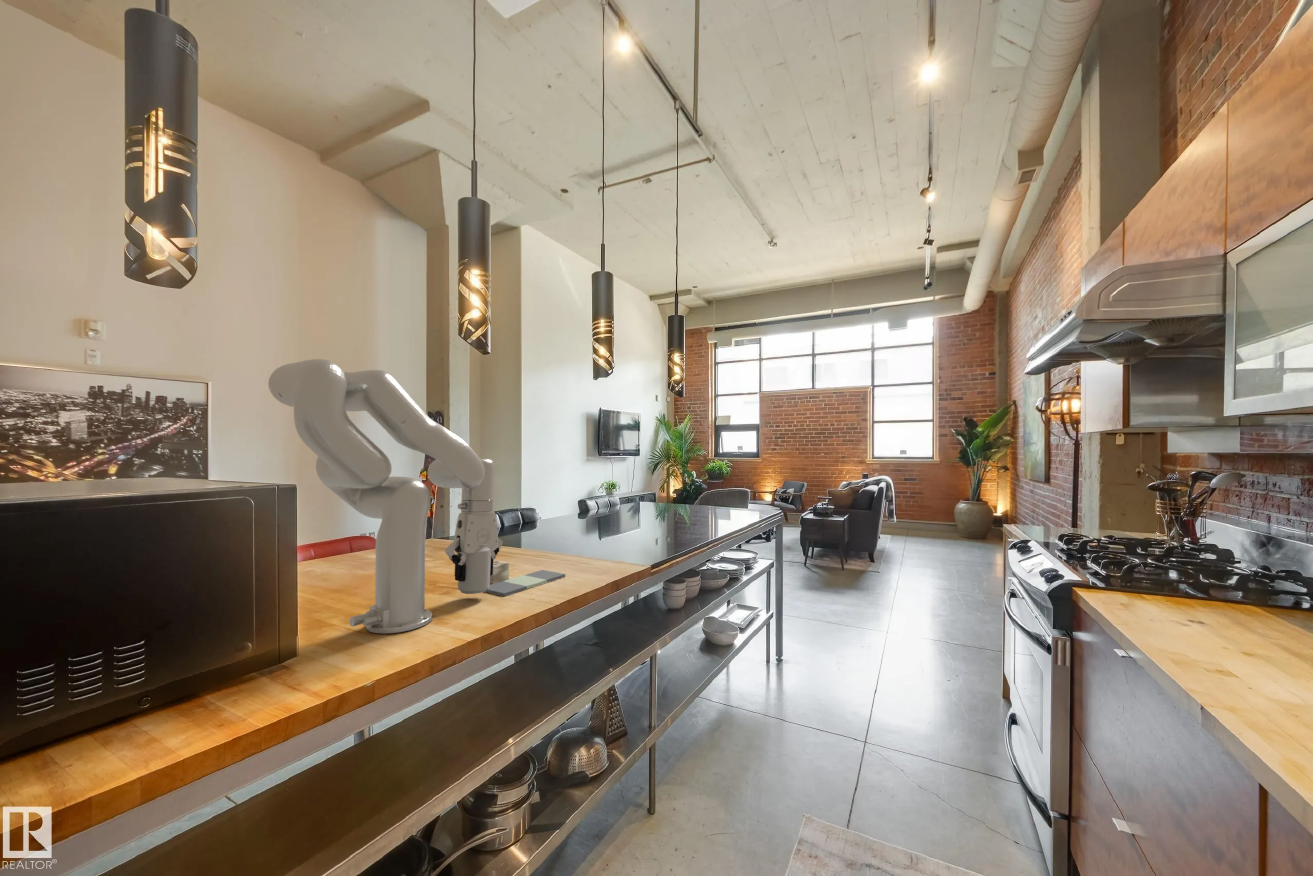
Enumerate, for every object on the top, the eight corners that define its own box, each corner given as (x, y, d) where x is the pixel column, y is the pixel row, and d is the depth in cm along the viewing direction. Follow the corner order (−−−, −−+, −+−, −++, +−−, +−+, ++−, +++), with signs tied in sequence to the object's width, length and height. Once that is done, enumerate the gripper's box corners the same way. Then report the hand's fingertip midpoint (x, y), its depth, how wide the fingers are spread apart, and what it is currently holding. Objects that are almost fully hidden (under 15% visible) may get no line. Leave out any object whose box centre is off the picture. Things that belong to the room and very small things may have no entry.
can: (482, 595, 117) (484, 545, 118) (452, 594, 117) (454, 544, 118) (493, 587, 124) (495, 540, 125) (465, 586, 125) (467, 540, 125)
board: (504, 596, 123) (504, 593, 123) (480, 590, 128) (480, 587, 128) (565, 576, 142) (565, 574, 142) (542, 572, 147) (542, 569, 147)
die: (494, 584, 135) (494, 566, 135) (483, 581, 137) (483, 563, 138) (508, 580, 139) (508, 562, 139) (497, 577, 142) (497, 560, 142)
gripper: (455, 510, 113) (452, 586, 112) (514, 506, 127) (511, 573, 126) (436, 508, 117) (433, 582, 116) (495, 504, 131) (492, 569, 130)
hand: (474, 577), depth 121 cm, fingers closed on can, 7 cm apart
